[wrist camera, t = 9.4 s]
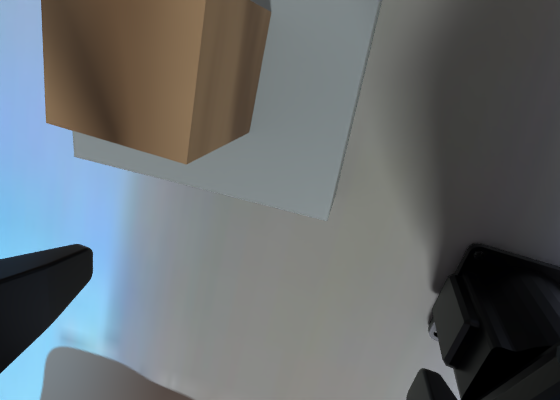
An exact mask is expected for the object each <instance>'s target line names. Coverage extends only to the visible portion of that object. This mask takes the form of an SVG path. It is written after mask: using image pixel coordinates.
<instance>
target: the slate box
mask: <svg viewBox="0 0 560 400" xmlns="http://www.w3.org/2000/svg"><path fill="white" fill-rule="evenodd" d="M250 1H252V2H254V3H256V4H258V5H260V6H261V7H263V8H265V9H267V10H269V11H270V12H271V17H270V23H269V28H268V34H267V39H266V45H265V50H264V55H263V61H262V66H261V72H260V77H259V83H258V88H257V93H256V99H255V104H254V110H253V115H252V121H251V126H250V131H249V133H247V134H245V135H243V136H242V137H240V138H238V139H236V140H234V141H232V142H230V143H228V144H226V145H224V146H222V147H220V148H218V149H216V150H214V151H212V152H210V153H208V154H206V155H204V156H202V157H200V158H198V159H196V160H194V161H192V162H191V163H189V164H187V165H186V164H183V163H179V162H176V161H173V160H169V159H166V158H163V157H159V156H156V155H153V154H149V153H146V152H142V151H139V150H136V149H132V148H129V147H126V146H122V145H119V144H116V143H112V142H109V141H106V140H102V139H99V138H96V137H92V136H89V135H86V134H82V133H79V132H75V131H73V144H74V157H77V158H81V159H85V160H89V161H93V162H97V163H101V164H105V165H109V166H113V167H116V168H120V169H124V170H128V171H132V172H136V173H140V174H144V175H148V176H152V177H156V178H160V179H164V180H167V181H171V182H175V183H179V184H183V185H187V186H191V187H195V188H199V189H203V190H207V191H211V192H215V193H218V194H222V195H226V196H230V197H234V198H238V199H242V200H246V201H250V202H254V203H258V204H262V205H266V206H269V207H273V208H277V209H281V210H285V211H289V212H293V213H297V214H301V215H305V216H309V217H313V218H317V219H320V220H324V221H327V220H328V217H329V214H330V211H331V208H332V205H333V202H334V198H335V195H336V191H337V186H338V182H339V178H340V174H341V170H342V166H343V161H344V157H345V153H346V149H347V145H348V141H349V136H350V132H351V128H352V124H353V120H354V115H355V111H356V107H357V103H358V99H359V95H360V90H361V86H362V82H363V78H364V74H365V69H366V65H367V61H368V57H369V53H370V49H371V44H372V40H373V36H374V32H375V28H376V23H377V19H378V15H379V11H380V7H381V3H382V0H250Z"/></svg>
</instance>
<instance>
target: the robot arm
mask: <svg viewBox="0 0 560 400" xmlns="http://www.w3.org/2000/svg"><path fill="white" fill-rule="evenodd" d="M477 251H482V254H481V255H479V256H474V253H475V252H477ZM92 274H93V252H92V250H91V249H90V248H89V247H86V246H83V245H80V244H73V245H68V246H63V247H59V248H54V249H49V250H44V251H39V252H34V253H29V254H24V255H19V256H14V257H9V258H5V259H0V373H1V372H2V371H3V370H4V369H6V368H7V367H8V366H9V365H10V364H11V363H12V362H13V361H14V360H15V359H16V358H17V357H18V356H19V355H20V354H21V353H22V352H23V351H24V350H25V349H26V348H28V347H29V346H30V345H31V344H32V343H33V342H34V341H35V340H36V339H37V338H38V337H39V336H40V335H41V334H42V333H43V332H44V331H45V330H46V329H47V328H48V327H49V326H50V325H51V324H52V323H53V322H54V321H55V320H56V319H57V318H58V316H59V315H60V314H61V313H62V312H63V311H64V310H65V308H66V307H67V306H68V305H69V304H70V303H71V302H72V300H73V299H74V298H75V297H76V296H77V295H78V293H79V292H80V291H81V290H82V289H83V288H84V287H85V285H86V284H87V283H88V282H89V281H90V279H91V277H92ZM432 313H433V319H432V321H431V323H430V325H429V327H428V331H429V335H430V337H431V338H432V339H434V340H436V341H439V345H440V350H441V354H442V359H443V361H444V363H445V365H446V366H448V367H451V368H453V369H454V374H455V378H456V382H457V386H458V390H459V394H460V398H461V400H560V267H558V266H554V265H551V264H548V263H544V262H541V261H537V260H534V259H531V258H527V257H524V256H521V255H517V254H514V253H510V252H507V251H504V250H500V249H497V248H494V247H490V246H487V245H484V244H479V243H476V244H472V245H470V246H469V247H468V249H467V251H466V253H465V255H464V257H463V259H462V261H461V263H460V265H459V267H458V269H457V271H456V273H455V274H452V275H450V276H448V278H447V280H446V282H445V284H444V286H443V288H442V290H441V292H440V295H439V297H438V299H437V301H436V303H435V305H434V307H433V309H432ZM435 331H437V333H436V332H435ZM406 400H457V398H456V397H455V395H454V394H453V393H452V391H451V390H450V388H449V387H448V385H447V384H446V382H445V381H444V379H443V378H442V377H441V375H440V374H438V373H436V372H433V371H431V370H428V369H425V368H422V369H420V370H419V372H418V373H417V375H416V377H415V379H414V381H413V383H412V385H411V387H410V389H409V391H408V394H407V399H406Z"/></svg>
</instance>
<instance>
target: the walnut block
mask: <svg viewBox="0 0 560 400" xmlns="http://www.w3.org/2000/svg"><path fill="white" fill-rule="evenodd" d="M41 10H42V34H43V59H44V83H45V107H46V123H49V124H52V125H55V126H59V127H62V128H65V129H69V130H72V131H75V132H79V133H82V134H86V135H89V136H92V137H96V138H99V139H102V140H106V141H109V142H112V143H116V144H119V145H122V146H126V147H129V148H132V149H136V150H139V151H142V152H146V153H149V154H153V155H156V156H159V157H163V158H166V159H169V160H173V161H176V162H179V163H183V164H186V165H187V164H189V163H191V162H192V161H194V160H196V159H198V158H200V157H202V156H204V155H206V154H208V153H210V152H212V151H214V150H216V149H218V148H220V147H222V146H224V145H226V144H228V143H230V142H232V141H234V140H236V139H238V138H240V137H242V136H243V135H245V134H247V133H249V131H250V126H251V121H252V115H253V110H254V104H255V99H256V93H257V88H258V83H259V77H260V72H261V66H262V61H263V55H264V50H265V45H266V39H267V34H268V28H269V23H270V17H271V12H270V11H269V10H267V9H265V8H263V7H261V6H260V5H258V4H256V3H254V2H252V1H250V0H41Z"/></svg>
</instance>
